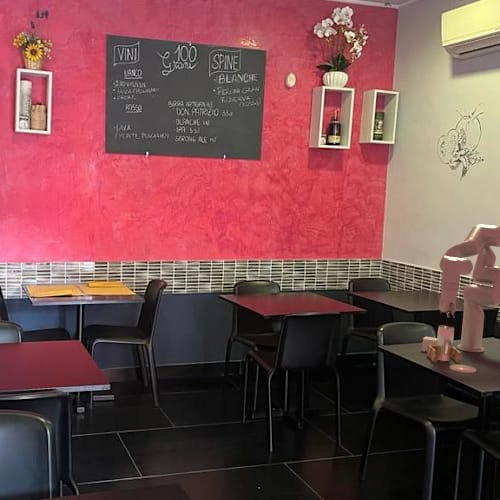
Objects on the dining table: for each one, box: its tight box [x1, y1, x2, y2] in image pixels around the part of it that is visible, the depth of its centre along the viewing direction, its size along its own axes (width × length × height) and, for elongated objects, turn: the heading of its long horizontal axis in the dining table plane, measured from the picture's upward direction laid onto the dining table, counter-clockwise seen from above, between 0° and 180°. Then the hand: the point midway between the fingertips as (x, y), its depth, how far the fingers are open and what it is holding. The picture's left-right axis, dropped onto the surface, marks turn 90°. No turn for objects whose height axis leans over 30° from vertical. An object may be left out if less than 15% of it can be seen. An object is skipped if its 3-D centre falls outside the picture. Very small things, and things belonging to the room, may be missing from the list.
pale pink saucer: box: [448, 364, 477, 374], centre depth 292 cm, size 11×11×1 cm
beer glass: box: [436, 324, 455, 362], centre depth 306 cm, size 7×7×15 cm
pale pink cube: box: [421, 336, 438, 353], centre depth 322 cm, size 6×6×6 cm
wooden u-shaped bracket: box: [426, 345, 462, 365], centre depth 307 cm, size 12×12×5 cm
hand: (446, 324), depth 305 cm, fingers open, 9 cm apart
